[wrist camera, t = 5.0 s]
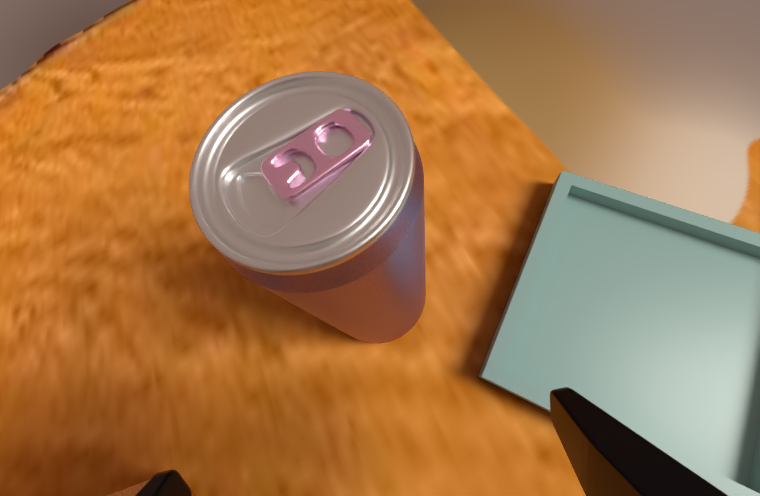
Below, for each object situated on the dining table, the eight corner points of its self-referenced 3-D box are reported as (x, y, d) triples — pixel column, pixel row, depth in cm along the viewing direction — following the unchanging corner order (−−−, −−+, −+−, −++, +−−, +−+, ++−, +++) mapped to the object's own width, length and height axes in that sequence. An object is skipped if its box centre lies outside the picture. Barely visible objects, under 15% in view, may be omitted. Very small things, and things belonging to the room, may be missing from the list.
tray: (753, 513, 17) (785, 526, 15) (477, 376, 20) (481, 376, 19) (795, 263, 20) (824, 254, 19) (553, 183, 24) (562, 170, 22)
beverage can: (445, 302, 22) (479, 167, 8) (368, 365, 21) (253, 339, 7) (386, 234, 24) (329, 29, 10) (314, 288, 23) (142, 152, 9)
